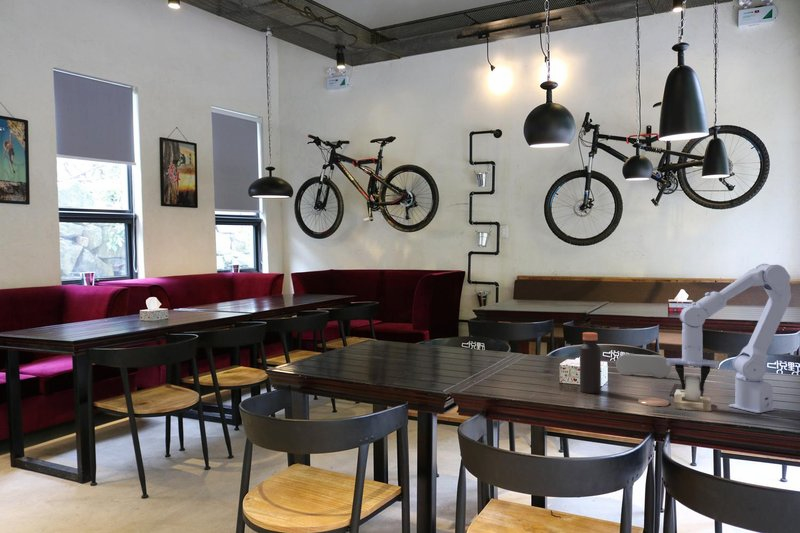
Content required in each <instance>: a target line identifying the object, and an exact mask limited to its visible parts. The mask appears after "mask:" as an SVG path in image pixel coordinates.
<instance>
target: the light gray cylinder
mask: <svg viewBox="0 0 800 533" xmlns="http://www.w3.org/2000/svg"><path fill="white" fill-rule="evenodd" d="M700 383H701V375H700V376H699V375H695V374H686V375H684V384H685V399H687V400H692V401H698V400H700Z"/></svg>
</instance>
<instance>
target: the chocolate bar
mask: <svg viewBox="0 0 800 533" xmlns="http://www.w3.org/2000/svg"><path fill="white" fill-rule="evenodd" d="M702 392H703V391H700V397H702ZM675 395H685V390H682V384H680V383H674V384H673V387H672V389H671V391H670V393H669V397H671V396H673V397H672V398H674V396H675Z"/></svg>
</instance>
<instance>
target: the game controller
mask: <svg viewBox="0 0 800 533" xmlns="http://www.w3.org/2000/svg"><path fill="white" fill-rule="evenodd" d="M615 367H616V370H617V371H618V372H619V373H620V374H621V375H622V376H633V375H638V374H639V375H647V376H653V377H655V378H656V379H657V378H660V379H664V378H666V377H668V376H669V375H670V373H671V372H672V371H671V370H672V365H670V366H669V365H667V357H666V356H663V355H658V354H651V355H649V354H639V353H638V354H635V353H627V352H626V353H622V354H621V355H620V356H618V358H617V359H616V362H615Z"/></svg>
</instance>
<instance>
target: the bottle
mask: <svg viewBox="0 0 800 533" xmlns="http://www.w3.org/2000/svg"><path fill="white" fill-rule="evenodd" d="M598 339H599V338H598V333H597V332H592V331H591V332H590V331H587V332H582V342H583V343H582V345H580V346H579V392H580V391H581V392H582V393H585V394H599V393H600V392H601V391H602V390H601V389H602V388H601V387H602V384H601V382H602V381H601V378H602V377H601V376H602V374H601V373H602V370H601V368H602V367H601V363H602V362H601V361H602V359H601V352H602V351H601V350H602V349H601V347H600V346H599V345H598V343H597V342H598Z"/></svg>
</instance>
